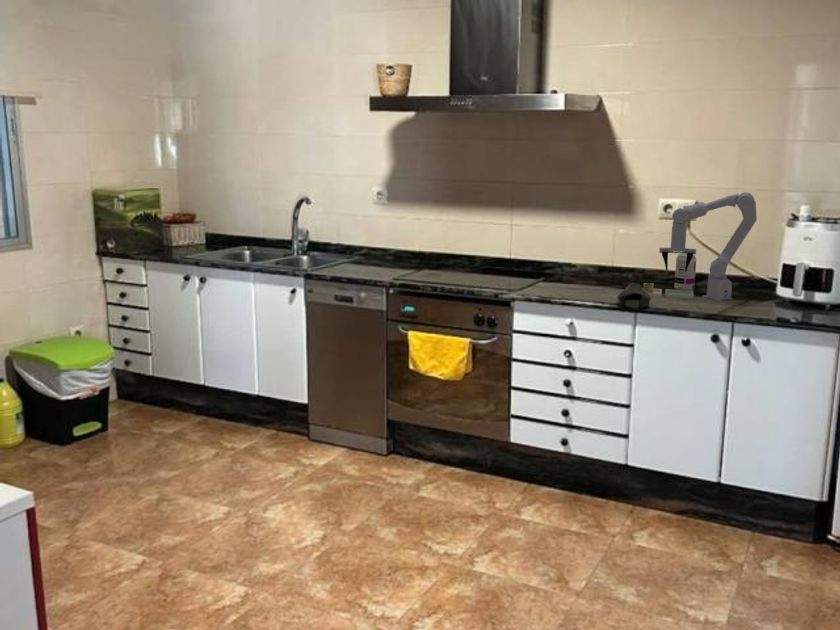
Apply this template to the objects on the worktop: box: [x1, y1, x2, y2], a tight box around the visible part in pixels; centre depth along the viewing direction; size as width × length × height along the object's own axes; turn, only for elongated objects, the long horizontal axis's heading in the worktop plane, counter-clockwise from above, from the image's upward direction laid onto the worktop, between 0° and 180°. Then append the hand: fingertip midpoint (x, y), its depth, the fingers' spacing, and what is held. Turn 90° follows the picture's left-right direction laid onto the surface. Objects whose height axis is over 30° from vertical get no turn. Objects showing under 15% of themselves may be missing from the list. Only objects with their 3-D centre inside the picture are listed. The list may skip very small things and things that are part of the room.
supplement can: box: [674, 253, 697, 291], centre depth 354 cm, size 8×8×15 cm
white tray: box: [642, 287, 663, 298], centre depth 344 cm, size 11×11×2 cm
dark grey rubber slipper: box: [616, 282, 652, 309], centre depth 329 cm, size 13×7×25 cm
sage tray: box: [665, 288, 695, 300], centre depth 341 cm, size 11×11×2 cm
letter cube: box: [642, 282, 655, 293], centre depth 344 cm, size 4×4×4 cm
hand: (676, 270), depth 341 cm, fingers open, 7 cm apart
